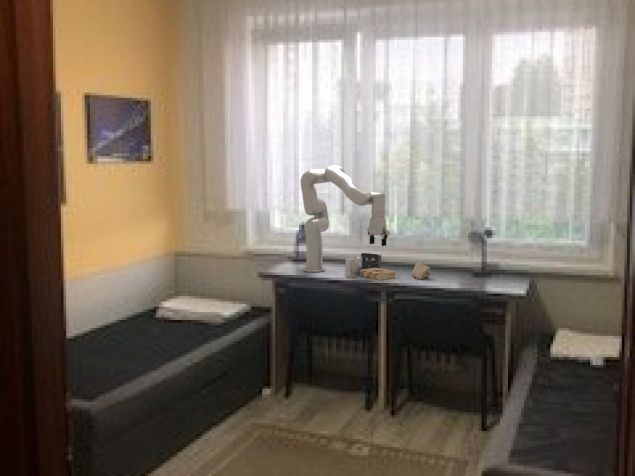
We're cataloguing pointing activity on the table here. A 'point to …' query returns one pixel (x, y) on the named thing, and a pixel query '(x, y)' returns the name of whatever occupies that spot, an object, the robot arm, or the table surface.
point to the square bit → (350, 267)
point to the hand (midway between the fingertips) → (377, 244)
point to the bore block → (377, 273)
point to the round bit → (358, 265)
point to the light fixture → (371, 260)
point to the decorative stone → (421, 271)
